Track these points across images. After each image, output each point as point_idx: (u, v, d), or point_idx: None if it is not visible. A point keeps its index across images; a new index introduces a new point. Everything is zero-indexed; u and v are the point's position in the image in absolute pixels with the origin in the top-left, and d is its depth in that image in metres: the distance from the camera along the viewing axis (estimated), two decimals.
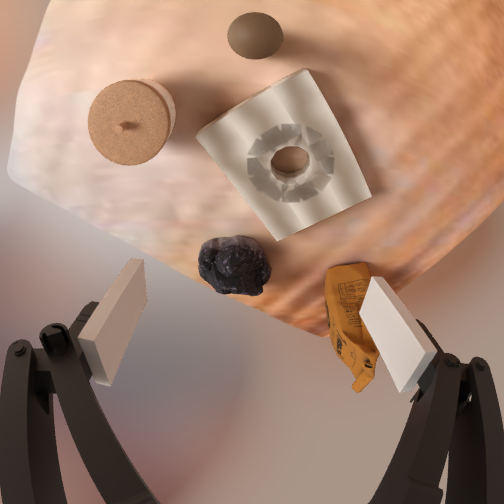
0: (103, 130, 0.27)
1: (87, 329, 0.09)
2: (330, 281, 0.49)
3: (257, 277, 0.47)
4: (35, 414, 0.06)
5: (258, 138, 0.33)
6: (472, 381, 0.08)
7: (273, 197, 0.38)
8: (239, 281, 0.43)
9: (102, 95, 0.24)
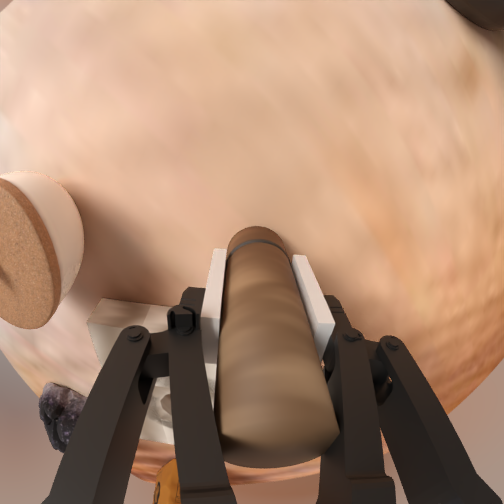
0: None
1: (207, 309, 0.11)
2: (171, 473, 0.33)
3: None
4: (132, 403, 0.07)
5: None
6: (388, 366, 0.09)
7: (148, 416, 0.25)
8: None
9: None
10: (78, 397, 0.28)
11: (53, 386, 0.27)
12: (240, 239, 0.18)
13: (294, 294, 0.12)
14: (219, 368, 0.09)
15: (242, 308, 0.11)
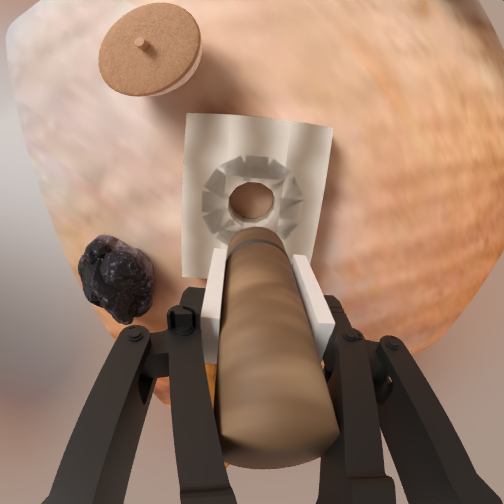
0: (122, 36, 0.19)
1: (207, 309, 0.11)
2: None
3: (134, 304, 0.36)
4: (132, 403, 0.07)
5: (241, 157, 0.29)
6: (388, 366, 0.09)
7: (211, 227, 0.32)
8: (115, 295, 0.31)
9: (155, 6, 0.18)
10: (126, 246, 0.36)
11: (102, 235, 0.35)
12: (240, 239, 0.18)
13: (294, 294, 0.12)
14: (219, 369, 0.09)
15: (242, 308, 0.11)
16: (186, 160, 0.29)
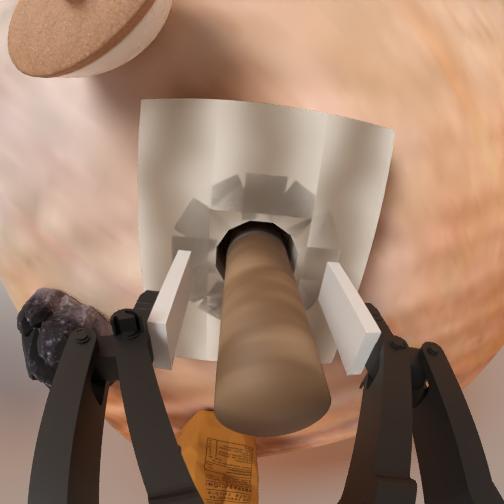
0: None
1: (155, 314, 0.10)
2: (198, 429, 0.28)
3: None
4: (88, 404, 0.07)
5: (239, 177, 0.16)
6: (426, 369, 0.09)
7: None
8: None
9: None
10: (74, 304, 0.23)
11: (43, 288, 0.22)
12: (240, 230, 0.19)
13: (289, 277, 0.14)
14: (221, 340, 0.11)
15: (242, 288, 0.12)
16: (142, 183, 0.16)
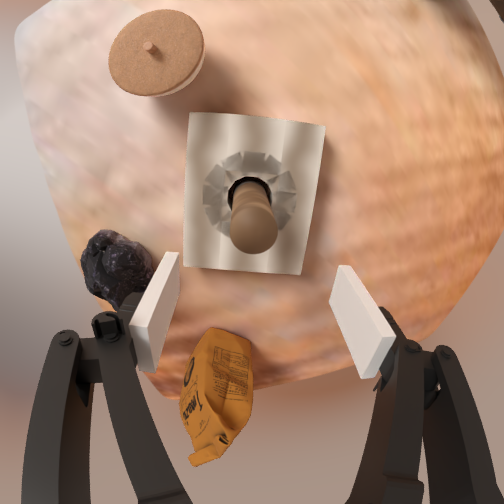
0: (131, 40, 0.21)
1: (137, 317, 0.10)
2: (208, 340, 0.43)
3: None
4: (73, 406, 0.07)
5: (240, 153, 0.31)
6: (439, 371, 0.09)
7: (211, 218, 0.35)
8: (116, 285, 0.33)
9: (161, 12, 0.20)
10: (126, 240, 0.38)
11: (103, 230, 0.37)
12: (241, 183, 0.34)
13: (264, 196, 0.29)
14: (232, 212, 0.25)
15: (242, 196, 0.27)
16: (189, 156, 0.31)
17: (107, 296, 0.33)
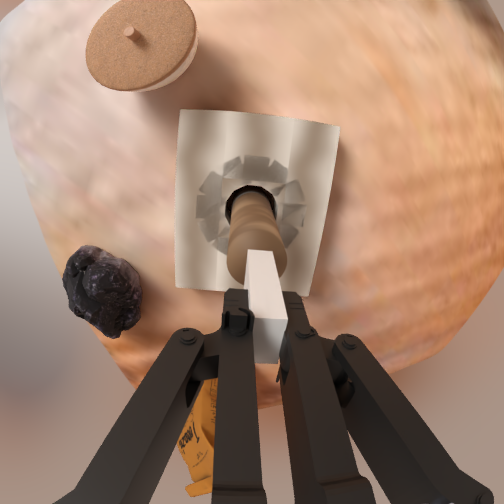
0: (111, 27, 0.16)
1: (256, 310, 0.11)
2: None
3: (120, 318, 0.33)
4: (177, 407, 0.08)
5: (240, 158, 0.27)
6: (347, 367, 0.09)
7: (206, 234, 0.30)
8: (99, 309, 0.29)
9: None
10: (110, 256, 0.34)
11: (85, 245, 0.32)
12: (241, 192, 0.29)
13: (269, 210, 0.24)
14: (230, 233, 0.21)
15: (242, 212, 0.22)
16: (179, 161, 0.26)
17: (90, 321, 0.28)
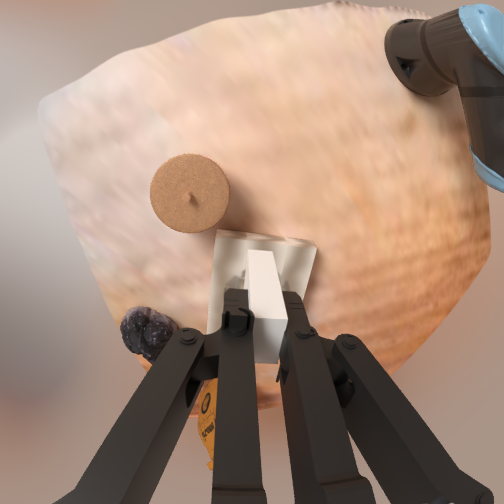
0: (169, 182, 0.34)
1: (256, 310, 0.11)
2: None
3: None
4: (177, 407, 0.08)
5: None
6: (347, 367, 0.09)
7: None
8: (155, 351, 0.46)
9: (194, 159, 0.33)
10: (157, 314, 0.51)
11: None
12: None
13: None
14: None
15: None
16: (214, 268, 0.45)
17: (148, 359, 0.46)
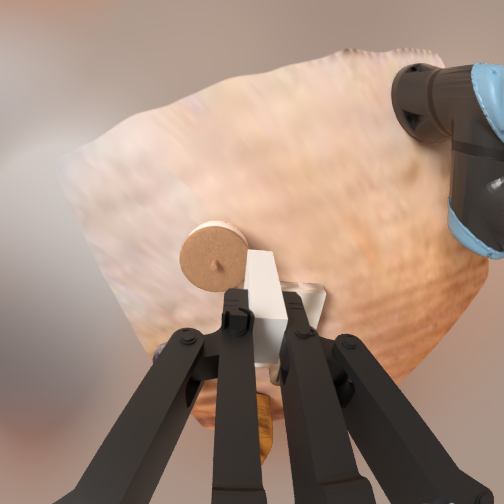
0: (197, 252, 0.41)
1: (256, 310, 0.11)
2: None
3: None
4: (177, 407, 0.08)
5: None
6: (347, 367, 0.09)
7: None
8: None
9: (218, 232, 0.39)
10: None
11: None
12: None
13: None
14: None
15: None
16: None
17: None
